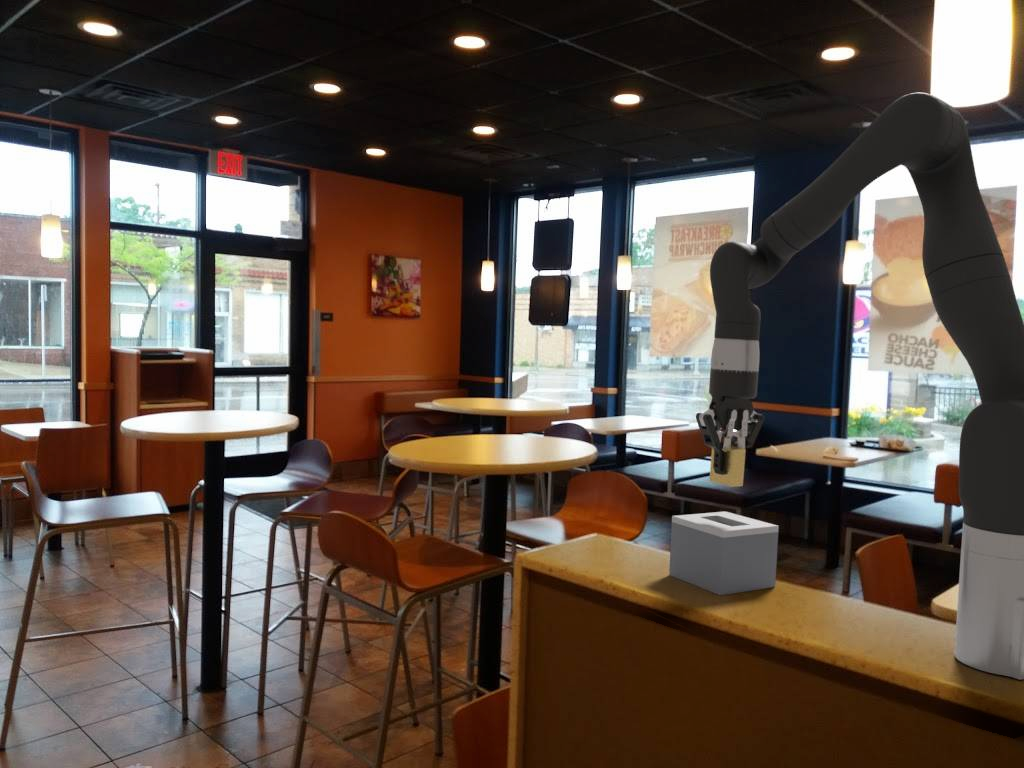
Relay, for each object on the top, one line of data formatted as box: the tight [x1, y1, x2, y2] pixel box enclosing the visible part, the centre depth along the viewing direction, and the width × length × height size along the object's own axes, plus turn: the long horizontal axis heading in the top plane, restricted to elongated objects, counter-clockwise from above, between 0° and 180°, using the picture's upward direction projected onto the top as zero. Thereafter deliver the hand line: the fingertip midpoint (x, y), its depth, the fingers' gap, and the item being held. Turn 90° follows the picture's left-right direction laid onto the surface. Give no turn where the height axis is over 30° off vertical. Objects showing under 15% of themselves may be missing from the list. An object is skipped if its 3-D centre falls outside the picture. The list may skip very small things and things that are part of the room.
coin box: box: [668, 511, 780, 596], centre depth 135 cm, size 12×12×10 cm
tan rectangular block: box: [709, 446, 747, 488], centre depth 133 cm, size 5×2×6 cm, turn 30°
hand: (726, 473), depth 133 cm, fingers closed on tan rectangular block, 2 cm apart
